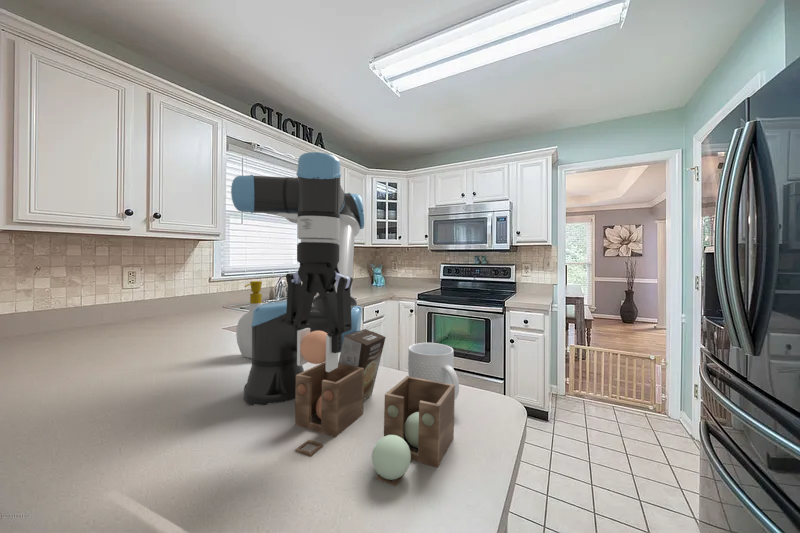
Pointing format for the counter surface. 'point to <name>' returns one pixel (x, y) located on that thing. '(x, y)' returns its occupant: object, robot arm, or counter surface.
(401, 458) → the sage ball
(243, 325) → the soap bottle
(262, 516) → the counter surface
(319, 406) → the terracotta ball
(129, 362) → the counter surface
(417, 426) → the sage ball
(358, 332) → the coffee box
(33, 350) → the counter surface
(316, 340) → the terracotta ball
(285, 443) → the counter surface
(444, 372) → the mug
